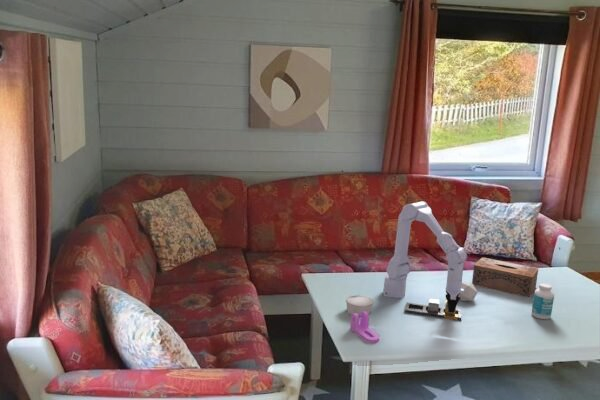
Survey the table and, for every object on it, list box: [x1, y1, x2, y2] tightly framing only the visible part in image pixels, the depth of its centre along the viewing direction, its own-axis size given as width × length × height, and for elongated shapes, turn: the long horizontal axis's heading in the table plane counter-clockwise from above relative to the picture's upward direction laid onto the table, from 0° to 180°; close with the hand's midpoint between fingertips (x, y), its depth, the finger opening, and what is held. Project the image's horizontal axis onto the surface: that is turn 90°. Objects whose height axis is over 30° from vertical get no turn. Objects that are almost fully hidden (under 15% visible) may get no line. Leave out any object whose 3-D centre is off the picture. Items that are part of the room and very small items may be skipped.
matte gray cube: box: [428, 298, 440, 313], centre depth 223 cm, size 4×4×5 cm
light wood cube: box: [444, 300, 457, 316], centre depth 221 cm, size 4×4×5 cm
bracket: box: [349, 311, 380, 344], centre depth 202 cm, size 13×6×7 cm, turn 26°
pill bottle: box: [531, 282, 555, 320], centre depth 224 cm, size 8×7×14 cm
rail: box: [404, 302, 462, 322], centre depth 223 cm, size 22×8×2 cm, turn 75°
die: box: [458, 281, 478, 302], centre depth 238 cm, size 8×9×10 cm
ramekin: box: [345, 294, 374, 317], centre depth 222 cm, size 11×11×5 cm
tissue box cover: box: [471, 256, 539, 298], centre depth 257 cm, size 26×14×10 cm, turn 57°
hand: (451, 309), depth 221 cm, fingers closed on light wood cube, 4 cm apart
